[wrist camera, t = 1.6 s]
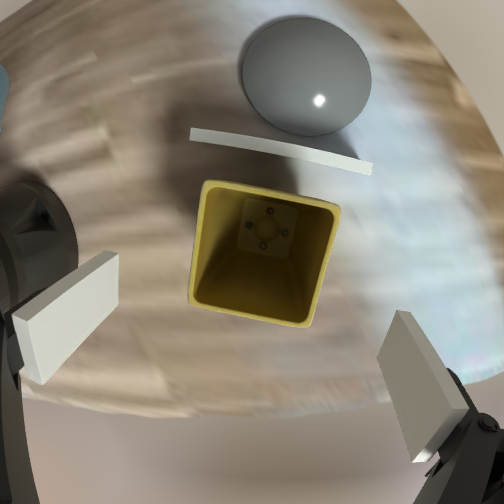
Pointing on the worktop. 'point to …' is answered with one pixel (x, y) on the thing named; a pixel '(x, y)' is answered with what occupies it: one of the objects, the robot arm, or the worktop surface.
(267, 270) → the flower pot
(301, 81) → the coaster
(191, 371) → the worktop surface
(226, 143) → the wall
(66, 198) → the worktop surface
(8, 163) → the worktop surface
